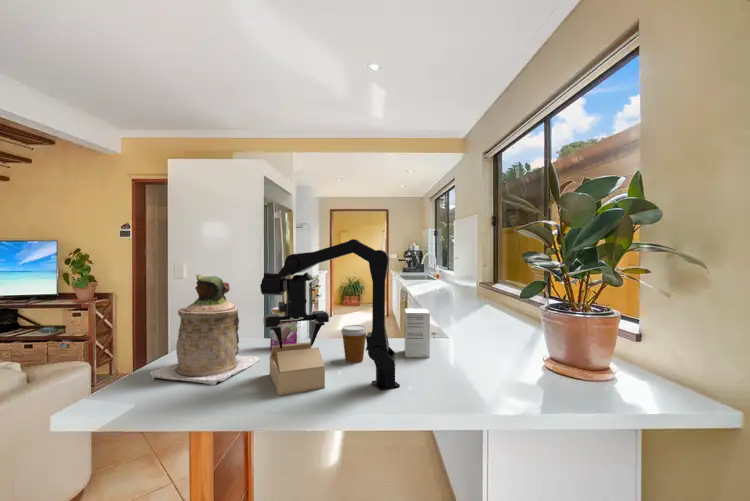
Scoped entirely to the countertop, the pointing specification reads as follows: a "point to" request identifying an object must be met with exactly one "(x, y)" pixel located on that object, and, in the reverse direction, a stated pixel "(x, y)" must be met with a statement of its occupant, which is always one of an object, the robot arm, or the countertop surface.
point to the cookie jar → (207, 338)
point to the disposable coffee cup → (354, 342)
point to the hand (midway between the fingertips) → (296, 347)
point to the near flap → (299, 360)
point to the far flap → (290, 347)
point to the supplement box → (417, 333)
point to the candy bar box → (285, 331)
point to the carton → (296, 379)
